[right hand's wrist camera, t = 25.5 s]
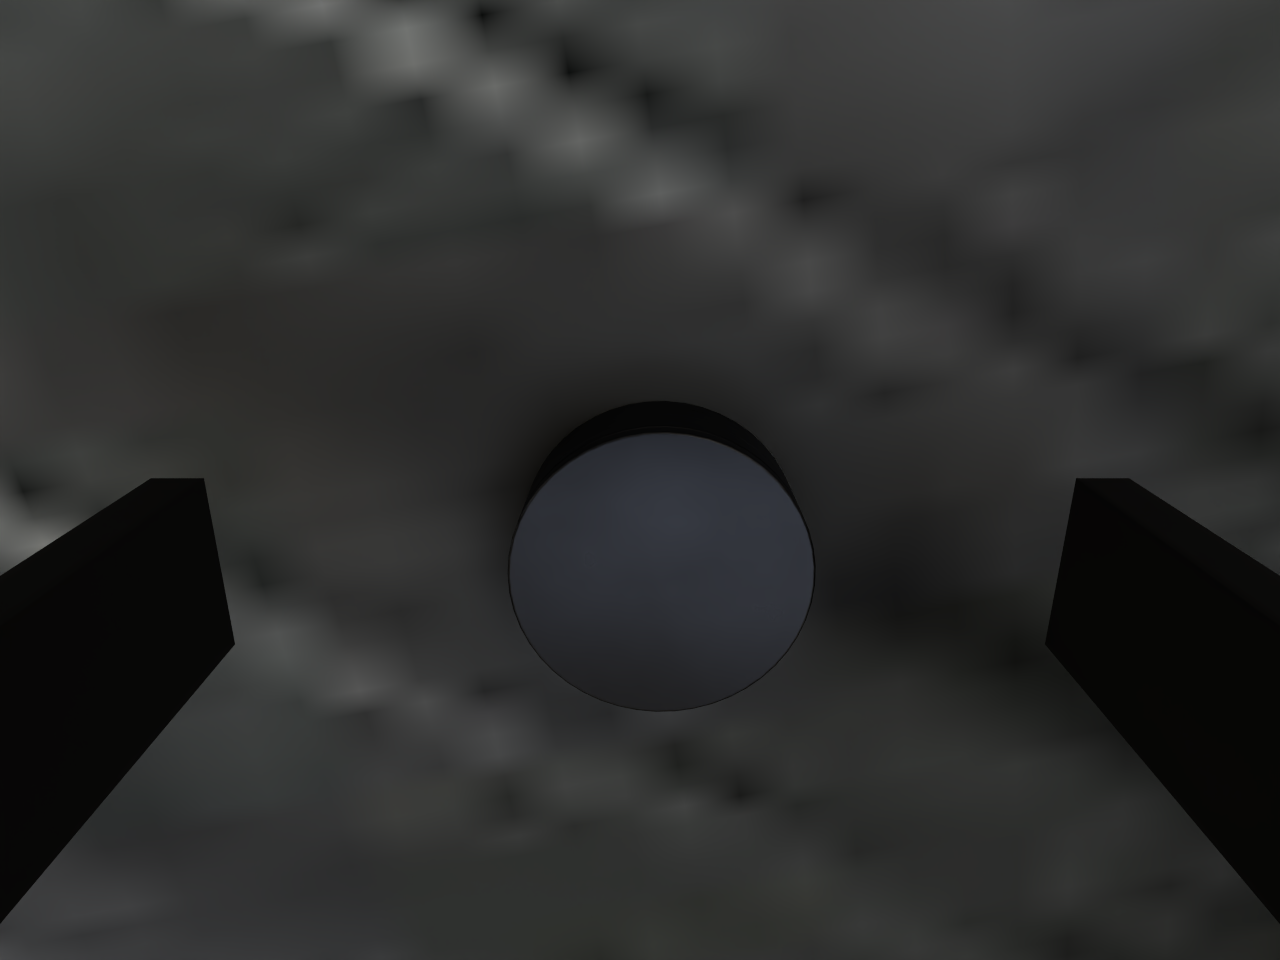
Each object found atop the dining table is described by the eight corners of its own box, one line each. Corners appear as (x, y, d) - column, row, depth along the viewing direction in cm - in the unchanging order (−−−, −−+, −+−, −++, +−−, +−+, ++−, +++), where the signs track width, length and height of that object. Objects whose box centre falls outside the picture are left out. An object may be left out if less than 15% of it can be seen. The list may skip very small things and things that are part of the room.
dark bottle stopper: (544, 661, 17) (530, 723, 15) (505, 414, 15) (485, 447, 13) (801, 640, 17) (821, 700, 15) (789, 387, 15) (810, 417, 13)
